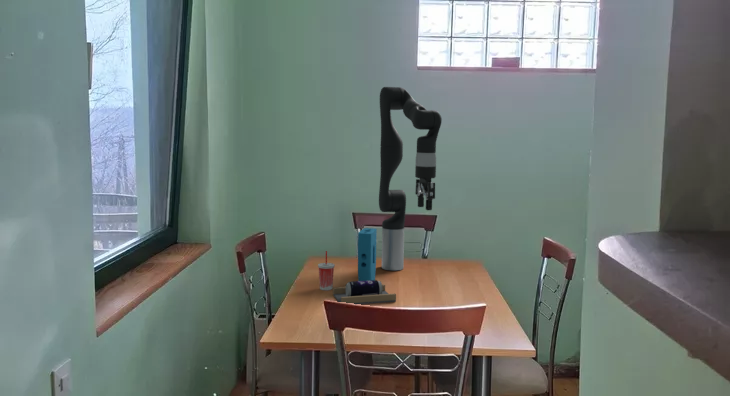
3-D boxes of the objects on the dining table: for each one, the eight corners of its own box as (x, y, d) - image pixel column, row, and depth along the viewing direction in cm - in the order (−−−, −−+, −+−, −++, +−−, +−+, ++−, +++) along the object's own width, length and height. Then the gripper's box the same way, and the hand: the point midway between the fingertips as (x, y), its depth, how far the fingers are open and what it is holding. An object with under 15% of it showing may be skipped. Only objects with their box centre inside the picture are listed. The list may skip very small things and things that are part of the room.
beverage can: (344, 290, 213) (377, 288, 216) (347, 302, 208) (381, 299, 211) (346, 278, 209) (379, 276, 212) (349, 290, 205) (383, 287, 208)
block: (370, 286, 227) (370, 233, 224) (357, 286, 228) (357, 233, 225) (376, 279, 238) (376, 228, 236) (363, 278, 239) (364, 228, 237)
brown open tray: (332, 294, 215) (332, 287, 215) (384, 291, 220) (384, 284, 220) (341, 305, 202) (341, 297, 202) (396, 301, 208) (396, 294, 207)
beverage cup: (327, 285, 228) (327, 248, 226) (337, 288, 223) (338, 251, 222) (314, 288, 223) (314, 250, 222) (325, 291, 219) (325, 253, 218)
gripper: (442, 166, 218) (441, 211, 220) (428, 163, 232) (427, 205, 234) (422, 166, 216) (421, 211, 218) (409, 163, 230) (408, 206, 232)
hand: (424, 208), depth 226 cm, fingers open, 8 cm apart
